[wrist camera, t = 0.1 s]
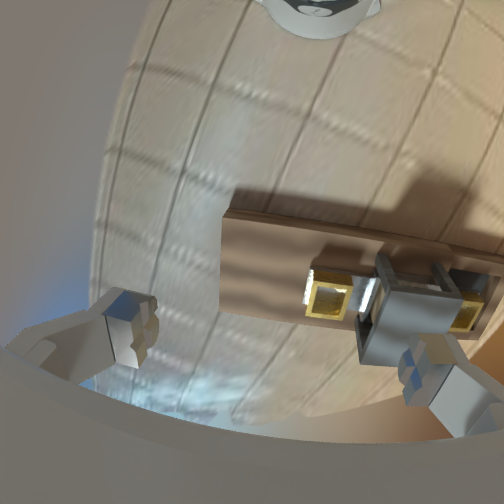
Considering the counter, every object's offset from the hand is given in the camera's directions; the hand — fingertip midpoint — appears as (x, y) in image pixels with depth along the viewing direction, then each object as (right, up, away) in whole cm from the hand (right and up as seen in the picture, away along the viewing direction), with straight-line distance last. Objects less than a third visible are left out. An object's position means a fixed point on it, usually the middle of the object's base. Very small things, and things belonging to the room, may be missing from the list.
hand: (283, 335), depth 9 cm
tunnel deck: (+21, -2, +42) cm, 47 cm away
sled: (+23, -5, +38) cm, 45 cm away
